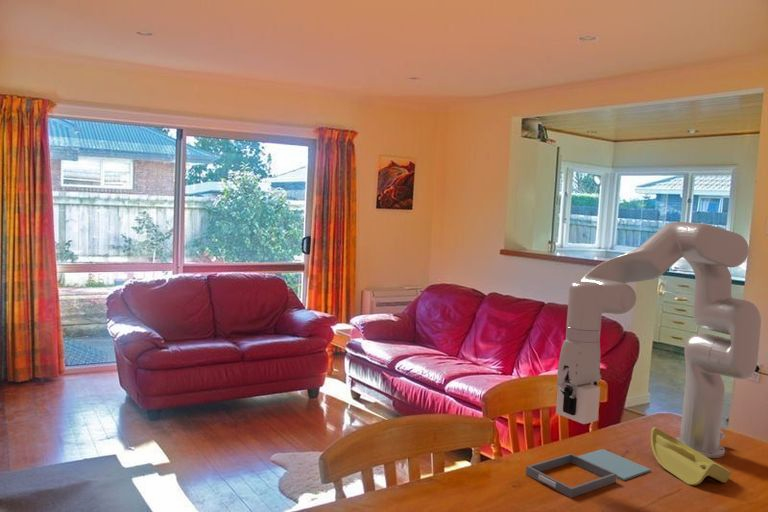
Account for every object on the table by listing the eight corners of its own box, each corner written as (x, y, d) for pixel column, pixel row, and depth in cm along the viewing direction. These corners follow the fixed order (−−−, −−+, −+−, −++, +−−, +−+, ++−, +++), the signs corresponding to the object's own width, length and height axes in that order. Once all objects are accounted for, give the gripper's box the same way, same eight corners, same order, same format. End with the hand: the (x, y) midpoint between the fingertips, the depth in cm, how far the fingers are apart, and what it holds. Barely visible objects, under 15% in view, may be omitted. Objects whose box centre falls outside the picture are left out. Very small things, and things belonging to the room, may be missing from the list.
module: (569, 409, 151) (572, 377, 150) (597, 420, 145) (600, 386, 144) (555, 413, 148) (558, 380, 147) (583, 424, 142) (586, 390, 141)
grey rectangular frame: (570, 461, 158) (571, 453, 157) (615, 482, 147) (616, 474, 147) (524, 474, 148) (525, 466, 148) (569, 498, 137) (570, 489, 137)
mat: (602, 450, 166) (602, 448, 166) (650, 471, 154) (650, 469, 154) (575, 458, 159) (575, 456, 159) (623, 480, 148) (623, 478, 148)
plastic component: (735, 474, 149) (709, 460, 146) (720, 501, 149) (694, 488, 146) (674, 437, 168) (649, 424, 164) (660, 461, 168) (635, 448, 164)
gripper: (592, 328, 152) (586, 401, 154) (545, 335, 143) (539, 412, 144) (619, 335, 146) (613, 410, 148) (571, 342, 137) (565, 422, 138)
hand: (577, 410), depth 146 cm, fingers closed on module, 5 cm apart
